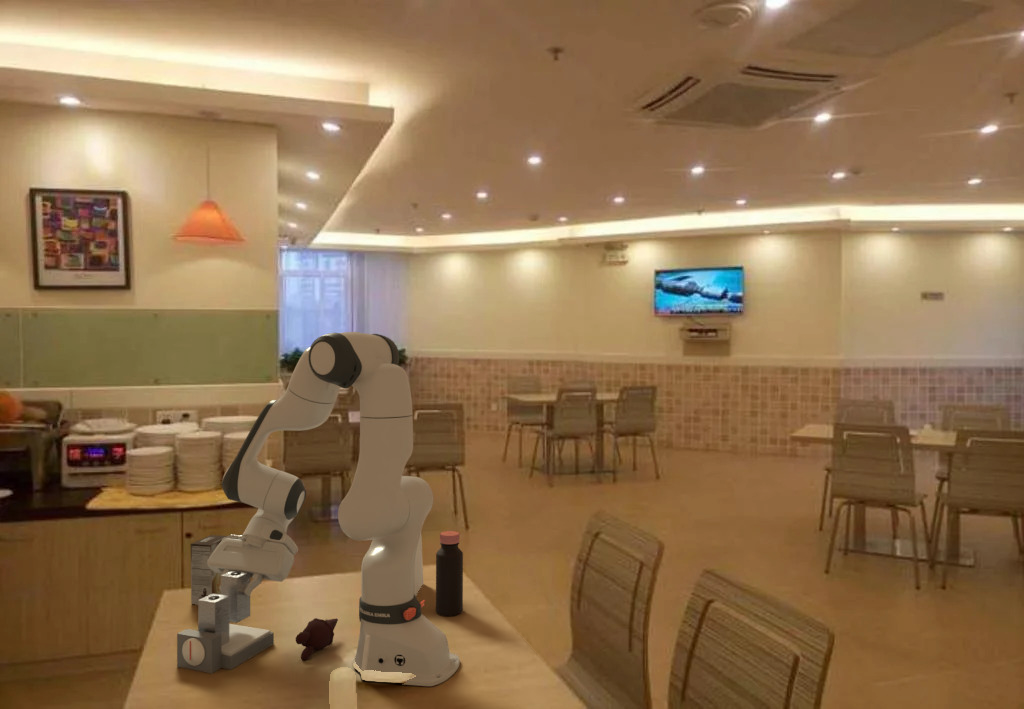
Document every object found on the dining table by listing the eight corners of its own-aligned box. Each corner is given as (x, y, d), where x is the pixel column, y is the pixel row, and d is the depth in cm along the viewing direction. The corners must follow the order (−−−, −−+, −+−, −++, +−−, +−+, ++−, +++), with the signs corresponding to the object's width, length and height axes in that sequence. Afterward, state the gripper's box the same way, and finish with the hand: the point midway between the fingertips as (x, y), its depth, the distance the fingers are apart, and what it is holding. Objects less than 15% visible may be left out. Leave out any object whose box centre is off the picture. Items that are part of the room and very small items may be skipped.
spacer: (250, 615, 170) (250, 571, 169) (237, 622, 166) (237, 577, 165) (234, 613, 171) (234, 569, 171) (220, 620, 167) (220, 575, 167)
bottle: (431, 609, 192) (432, 531, 191) (456, 605, 195) (456, 528, 194) (441, 618, 186) (442, 538, 185) (466, 614, 189) (467, 535, 188)
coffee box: (211, 593, 203) (211, 534, 203) (232, 595, 202) (232, 535, 201) (190, 605, 194) (189, 543, 194) (212, 607, 193) (212, 544, 192)
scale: (273, 643, 170) (273, 613, 170) (219, 676, 153) (219, 642, 153) (223, 635, 174) (223, 605, 174) (165, 665, 158) (165, 633, 158)
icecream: (319, 606, 176) (280, 636, 162) (346, 602, 173) (309, 632, 159) (327, 635, 176) (289, 667, 162) (354, 631, 173) (317, 663, 159)
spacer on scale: (229, 641, 163) (229, 595, 163) (215, 649, 159) (215, 602, 159) (213, 638, 164) (212, 593, 164) (198, 646, 160) (198, 599, 160)
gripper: (219, 526, 178) (189, 580, 169) (292, 535, 171) (265, 591, 162) (232, 540, 182) (203, 593, 173) (304, 549, 175) (278, 605, 166)
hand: (233, 592), depth 168 cm, fingers closed on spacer, 4 cm apart
